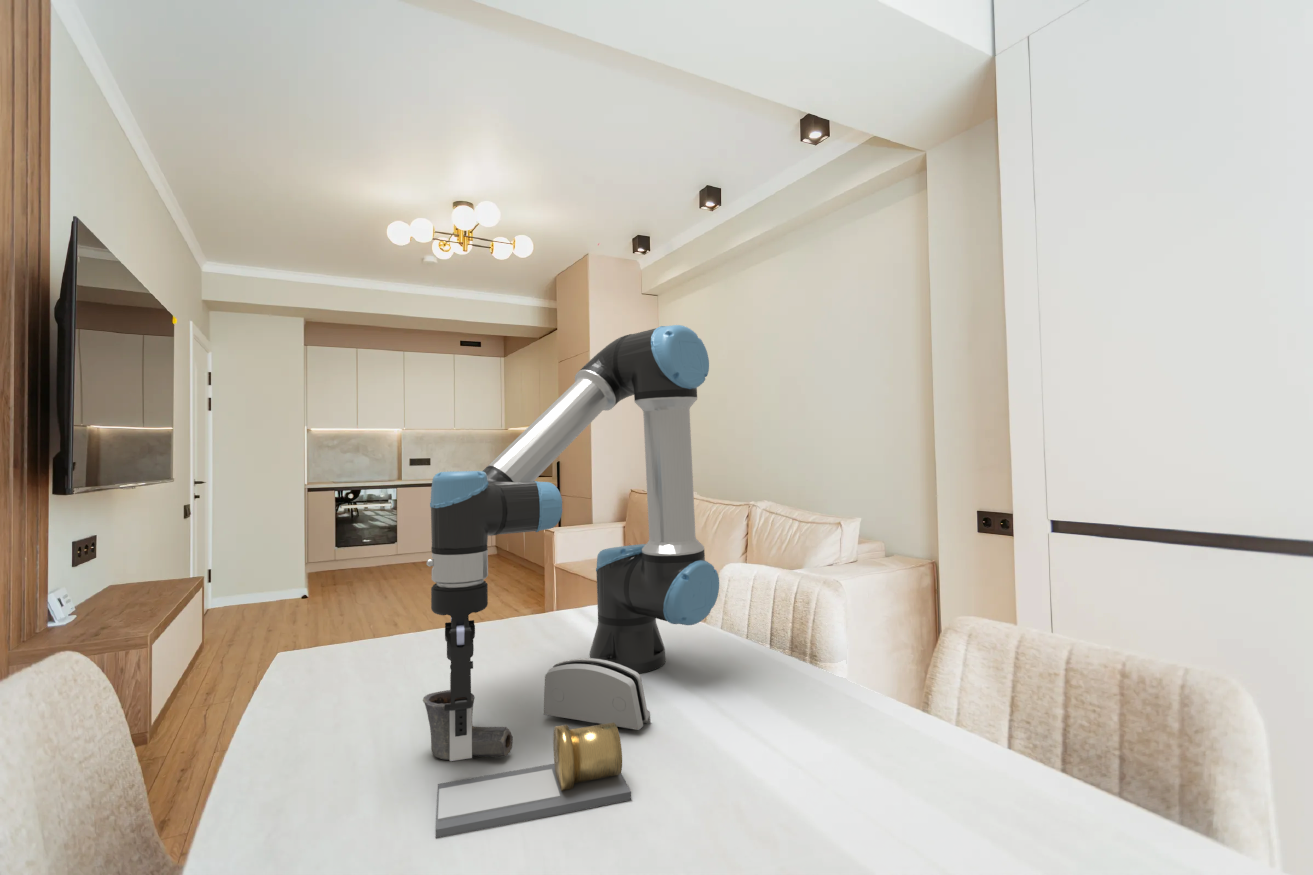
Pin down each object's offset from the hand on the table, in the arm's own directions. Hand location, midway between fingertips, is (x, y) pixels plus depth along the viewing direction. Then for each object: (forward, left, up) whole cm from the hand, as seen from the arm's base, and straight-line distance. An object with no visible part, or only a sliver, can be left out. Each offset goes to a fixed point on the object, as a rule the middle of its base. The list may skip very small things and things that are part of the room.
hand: (460, 736), depth 87 cm
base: (-8, +14, -3) cm, 16 cm away
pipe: (-1, 0, -3) cm, 3 cm away
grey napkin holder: (-20, -4, -3) cm, 21 cm away
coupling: (-16, +14, -3) cm, 21 cm away
